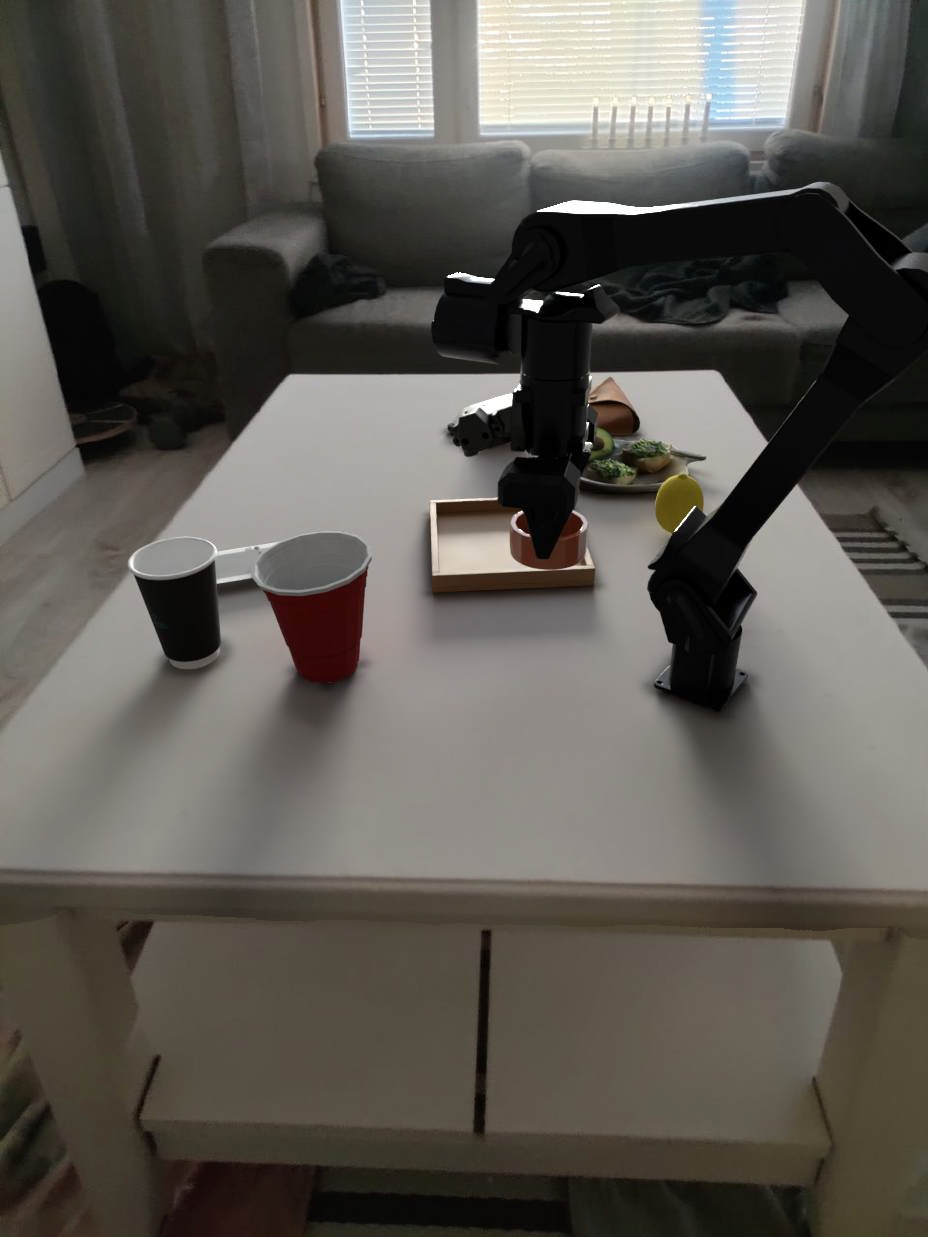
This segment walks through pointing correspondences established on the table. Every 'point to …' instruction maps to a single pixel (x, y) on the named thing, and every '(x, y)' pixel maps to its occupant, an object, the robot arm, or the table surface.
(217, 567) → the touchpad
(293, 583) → the plastic cup
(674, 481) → the lemon
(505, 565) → the serving tray
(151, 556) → the dixie cup
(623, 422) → the sunglasses case
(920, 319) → the robot arm
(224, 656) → the table surface
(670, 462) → the salad plate
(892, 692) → the table surface
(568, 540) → the small dish
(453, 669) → the table surface
